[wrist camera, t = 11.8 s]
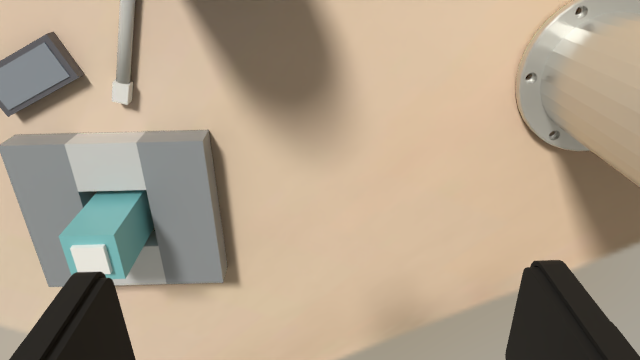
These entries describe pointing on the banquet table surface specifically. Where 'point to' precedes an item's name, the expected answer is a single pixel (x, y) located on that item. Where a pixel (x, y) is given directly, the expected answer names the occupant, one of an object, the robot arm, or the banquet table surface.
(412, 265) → the banquet table surface
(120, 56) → the cable
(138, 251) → the block
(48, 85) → the phone
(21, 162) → the socket plate
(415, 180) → the banquet table surface
